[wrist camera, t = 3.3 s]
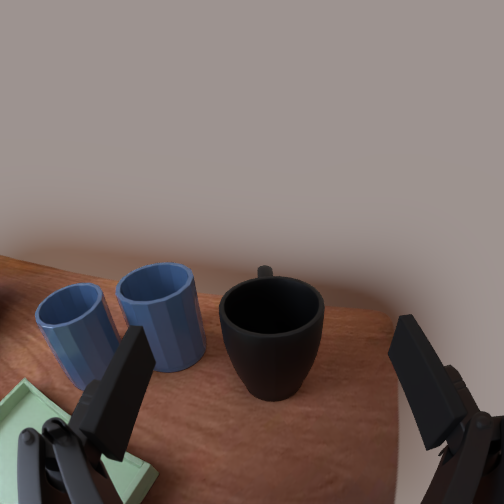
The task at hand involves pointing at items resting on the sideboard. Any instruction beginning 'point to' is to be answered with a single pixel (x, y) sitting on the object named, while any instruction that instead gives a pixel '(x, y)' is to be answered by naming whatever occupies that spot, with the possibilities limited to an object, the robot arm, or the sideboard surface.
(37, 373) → the sideboard surface
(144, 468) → the tray
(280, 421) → the sideboard surface
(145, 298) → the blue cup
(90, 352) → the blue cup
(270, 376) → the mug
